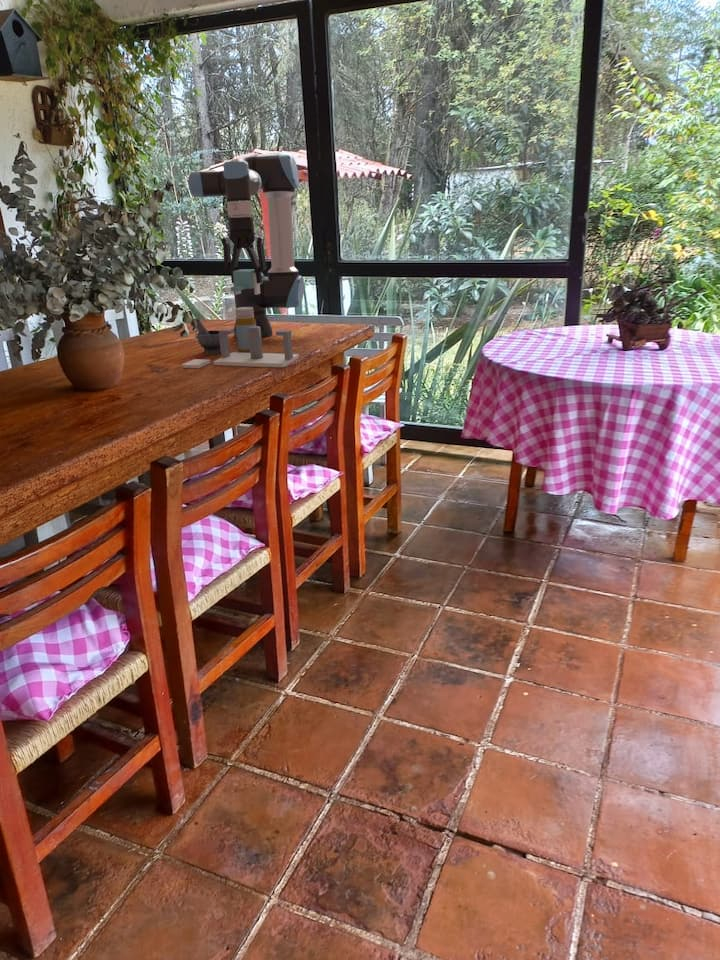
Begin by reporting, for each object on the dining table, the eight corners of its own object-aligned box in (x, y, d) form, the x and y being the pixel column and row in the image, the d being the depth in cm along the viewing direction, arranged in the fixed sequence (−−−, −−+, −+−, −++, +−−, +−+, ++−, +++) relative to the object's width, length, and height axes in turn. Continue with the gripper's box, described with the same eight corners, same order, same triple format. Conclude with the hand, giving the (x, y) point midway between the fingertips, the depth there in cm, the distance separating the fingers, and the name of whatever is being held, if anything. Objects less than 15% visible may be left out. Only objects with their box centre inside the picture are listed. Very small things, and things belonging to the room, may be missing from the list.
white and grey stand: (233, 355, 240) (229, 322, 235) (299, 357, 233) (297, 324, 229) (214, 365, 227) (210, 330, 223) (283, 367, 221) (280, 332, 216)
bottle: (254, 353, 242) (250, 309, 236) (235, 353, 243) (231, 309, 238) (261, 349, 248) (257, 306, 242) (242, 349, 250) (238, 306, 244)
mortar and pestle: (231, 349, 250) (227, 315, 245) (221, 355, 241) (217, 320, 237) (201, 349, 252) (197, 315, 247) (191, 355, 244) (186, 320, 239)
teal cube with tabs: (225, 291, 213) (223, 273, 211) (251, 283, 230) (249, 267, 228) (243, 291, 212) (241, 273, 210) (267, 283, 229) (266, 267, 227)
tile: (194, 362, 232) (194, 359, 232) (210, 362, 231) (210, 359, 230) (182, 367, 225) (182, 364, 225) (198, 368, 224) (198, 365, 223)
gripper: (206, 217, 212) (215, 295, 221) (264, 216, 207) (270, 295, 216) (218, 216, 219) (226, 292, 228) (274, 215, 214) (280, 292, 223)
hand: (247, 293), depth 222 cm, fingers closed on teal cube with tabs, 6 cm apart
